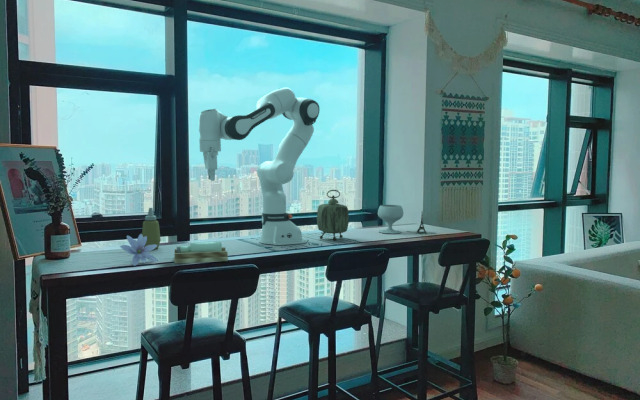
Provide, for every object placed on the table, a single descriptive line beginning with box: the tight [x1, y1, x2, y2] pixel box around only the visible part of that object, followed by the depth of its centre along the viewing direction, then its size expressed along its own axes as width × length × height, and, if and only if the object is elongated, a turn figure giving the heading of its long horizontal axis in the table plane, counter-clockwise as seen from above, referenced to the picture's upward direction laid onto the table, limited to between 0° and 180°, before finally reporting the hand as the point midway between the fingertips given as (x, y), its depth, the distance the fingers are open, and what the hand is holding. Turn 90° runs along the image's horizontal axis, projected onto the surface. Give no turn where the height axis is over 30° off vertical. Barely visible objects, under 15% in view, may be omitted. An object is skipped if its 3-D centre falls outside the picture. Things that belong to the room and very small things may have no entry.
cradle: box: [174, 246, 229, 264], centre depth 193 cm, size 20×12×4 cm, turn 106°
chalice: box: [377, 204, 404, 235], centre depth 268 cm, size 14×14×15 cm
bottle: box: [176, 241, 223, 253], centre depth 194 cm, size 17×5×5 cm, turn 106°
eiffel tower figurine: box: [405, 210, 436, 236], centre depth 270 cm, size 15×10×13 cm
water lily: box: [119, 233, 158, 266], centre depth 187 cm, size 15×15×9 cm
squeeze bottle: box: [141, 207, 162, 250], centre depth 214 cm, size 8×8×18 cm
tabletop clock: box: [316, 189, 350, 241], centre depth 242 cm, size 14×9×25 cm, turn 108°
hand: (211, 180), depth 208 cm, fingers open, 8 cm apart
